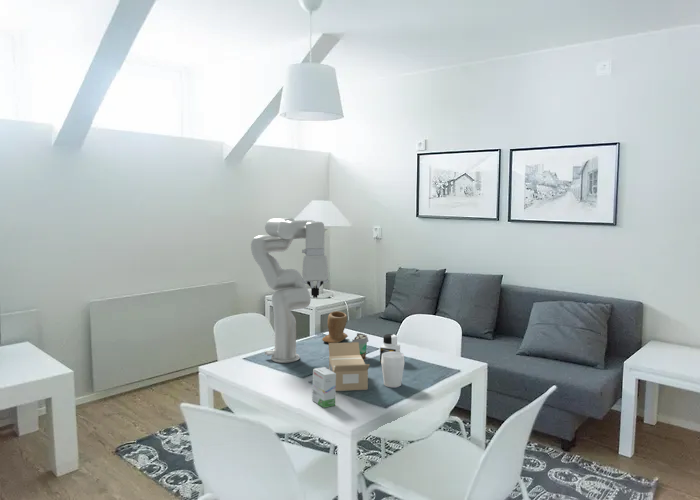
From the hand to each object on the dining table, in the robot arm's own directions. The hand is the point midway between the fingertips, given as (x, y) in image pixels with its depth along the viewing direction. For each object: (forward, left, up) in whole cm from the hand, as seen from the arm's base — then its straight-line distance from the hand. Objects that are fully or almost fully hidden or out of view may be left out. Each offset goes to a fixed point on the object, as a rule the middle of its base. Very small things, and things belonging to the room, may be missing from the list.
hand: (315, 297), depth 218 cm
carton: (+12, -11, -32) cm, 36 cm away
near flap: (+12, -23, -22) cm, 34 cm away
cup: (+29, -16, -32) cm, 46 cm away
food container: (+22, +19, -32) cm, 43 cm away
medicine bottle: (+34, +13, -32) cm, 49 cm away
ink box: (+1, -31, -32) cm, 45 cm away
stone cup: (+14, +49, -32) cm, 60 cm away
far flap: (+12, +1, -22) cm, 25 cm away
